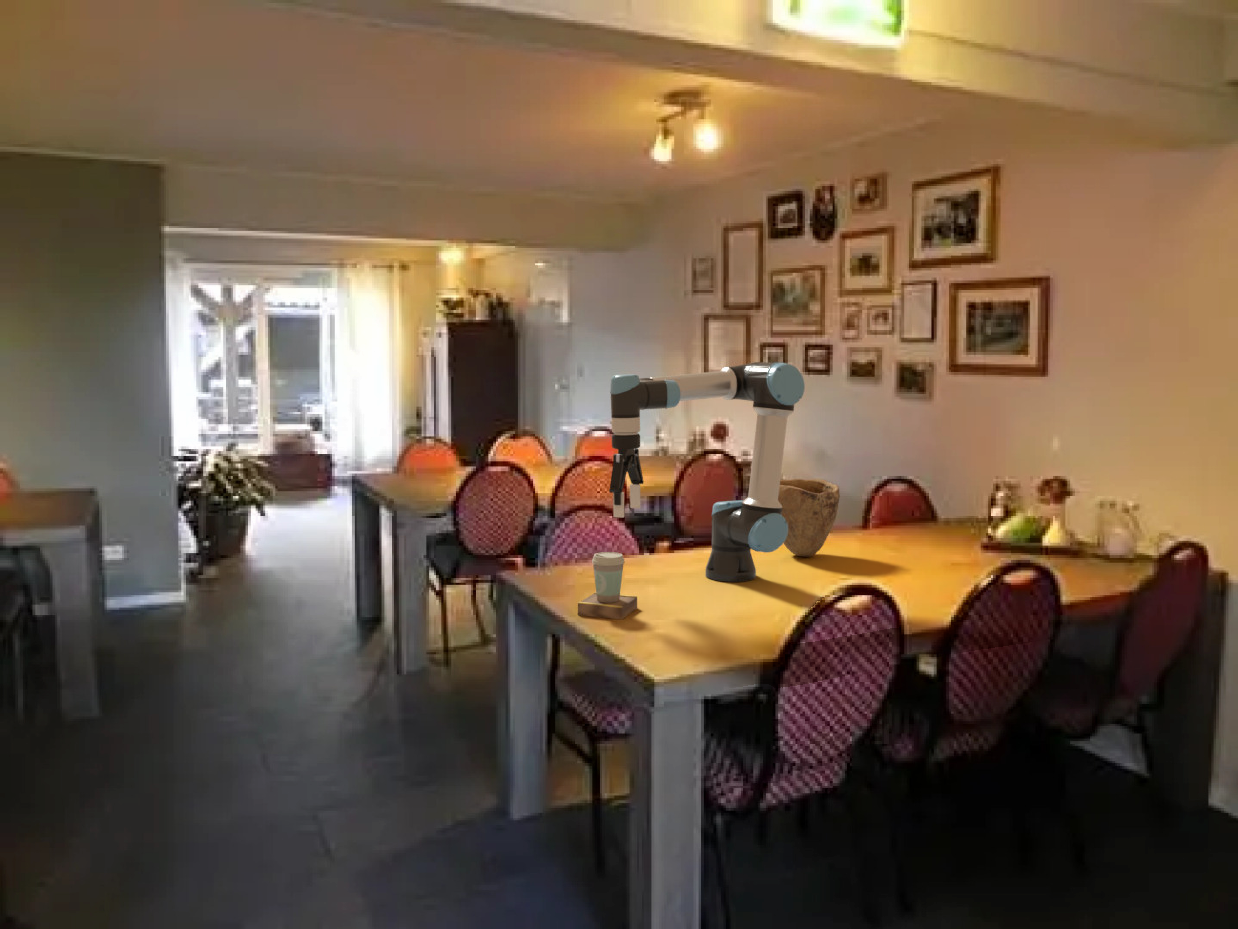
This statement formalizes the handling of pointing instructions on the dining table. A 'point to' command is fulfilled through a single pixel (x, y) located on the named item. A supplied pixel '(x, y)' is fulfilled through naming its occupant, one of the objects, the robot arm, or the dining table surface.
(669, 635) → the dining table surface
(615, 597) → the coffee cup
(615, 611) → the block
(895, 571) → the dining table surface
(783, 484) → the ancient clay pot
